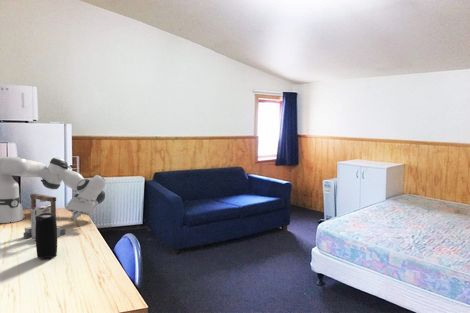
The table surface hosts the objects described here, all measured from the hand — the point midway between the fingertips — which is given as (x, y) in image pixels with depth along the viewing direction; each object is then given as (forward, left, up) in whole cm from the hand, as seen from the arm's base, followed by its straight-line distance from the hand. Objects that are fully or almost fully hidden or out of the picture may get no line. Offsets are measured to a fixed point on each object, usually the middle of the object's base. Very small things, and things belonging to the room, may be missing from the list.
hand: (73, 219), depth 206 cm
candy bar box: (0, -18, -6) cm, 19 cm away
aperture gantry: (-1, -18, -6) cm, 18 cm away
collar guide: (-1, -17, -6) cm, 18 cm away
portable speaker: (+27, -35, -6) cm, 45 cm away
